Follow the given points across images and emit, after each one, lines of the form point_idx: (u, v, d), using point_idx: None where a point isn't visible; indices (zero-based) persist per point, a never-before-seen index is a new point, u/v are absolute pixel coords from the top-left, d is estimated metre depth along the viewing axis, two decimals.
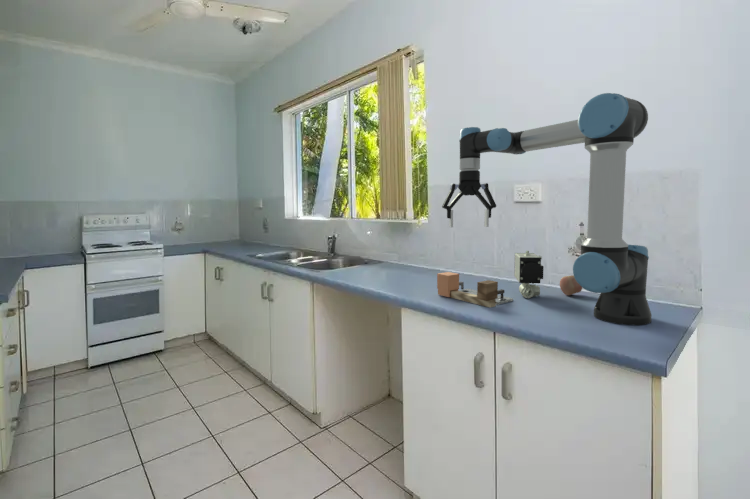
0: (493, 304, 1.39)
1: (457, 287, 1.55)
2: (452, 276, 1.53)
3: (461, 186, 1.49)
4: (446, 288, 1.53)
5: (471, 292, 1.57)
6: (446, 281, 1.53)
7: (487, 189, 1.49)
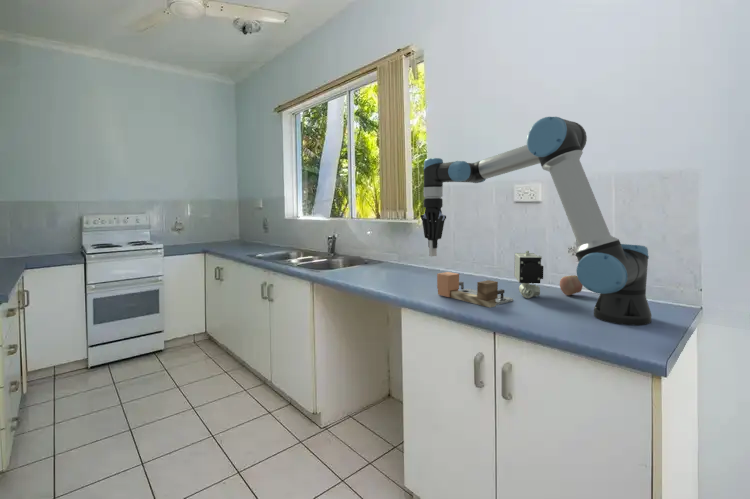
0: (493, 304, 1.39)
1: (457, 287, 1.55)
2: (452, 276, 1.53)
3: (425, 212, 1.62)
4: (446, 288, 1.53)
5: (471, 292, 1.57)
6: (446, 281, 1.53)
7: (439, 221, 1.56)
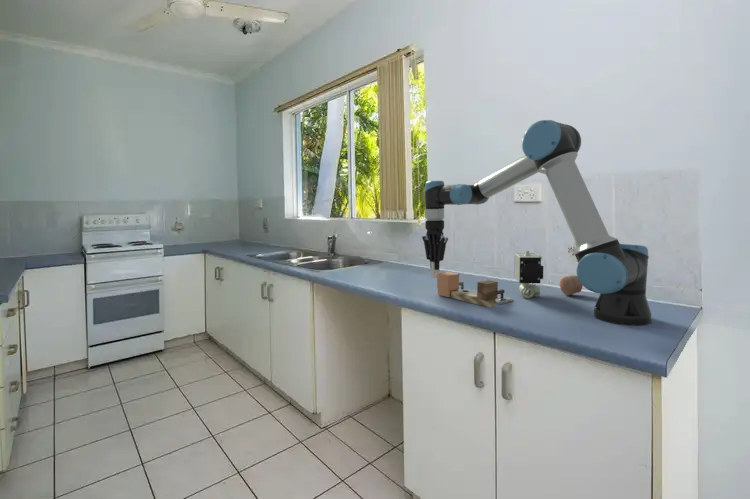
0: (493, 304, 1.39)
1: (457, 287, 1.55)
2: (452, 276, 1.53)
3: (427, 234, 1.63)
4: (446, 288, 1.53)
5: (471, 292, 1.57)
6: (446, 281, 1.53)
7: (440, 243, 1.56)
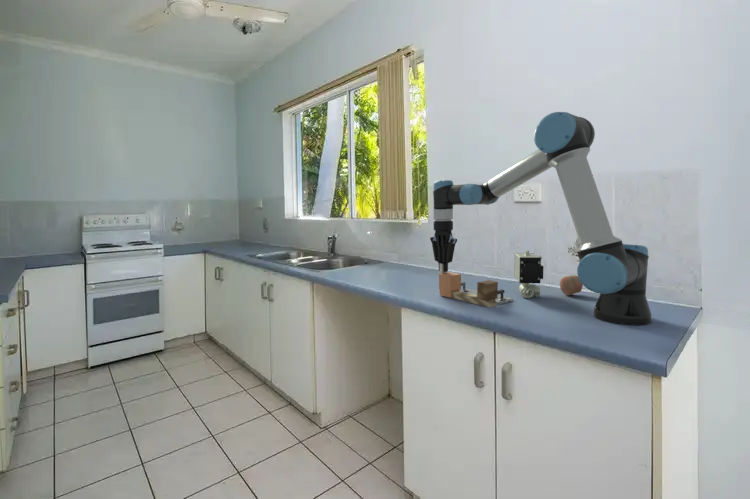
0: (493, 304, 1.39)
1: (459, 287, 1.55)
2: (454, 276, 1.53)
3: (435, 235, 1.59)
4: (448, 288, 1.52)
5: (471, 292, 1.57)
6: (448, 281, 1.52)
7: (449, 244, 1.52)
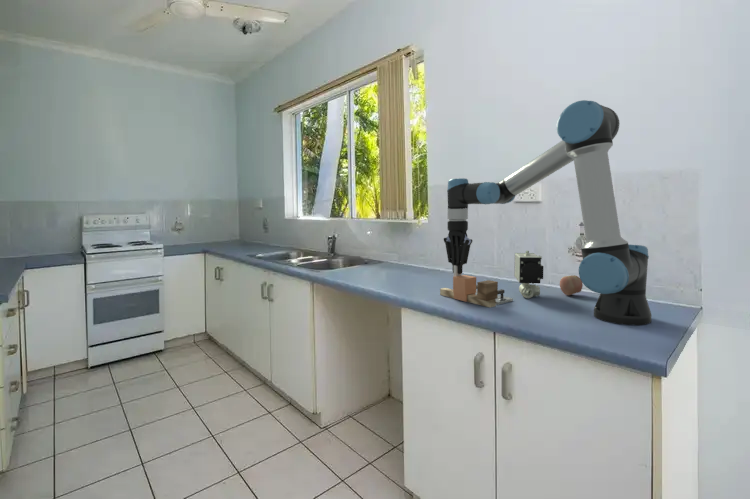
0: (493, 304, 1.39)
1: (474, 291, 1.48)
2: (469, 279, 1.46)
3: (449, 235, 1.52)
4: (463, 292, 1.46)
5: None
6: (463, 285, 1.46)
7: (464, 245, 1.46)
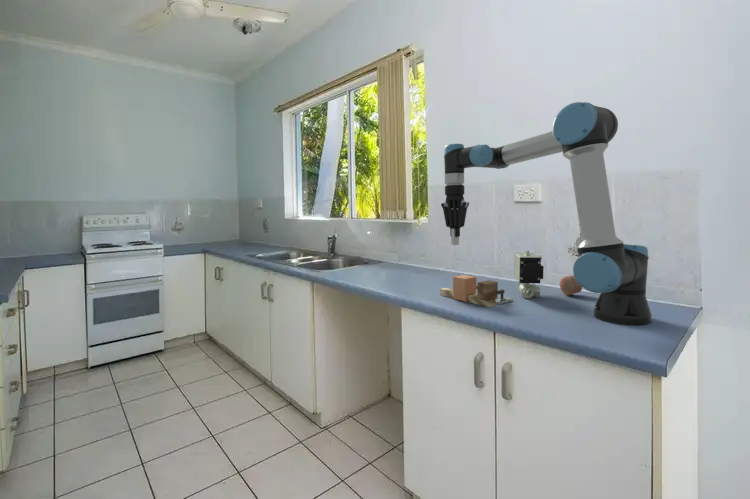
0: (493, 304, 1.39)
1: (474, 291, 1.48)
2: (469, 279, 1.46)
3: (446, 200, 1.58)
4: (463, 292, 1.46)
5: None
6: (463, 285, 1.46)
7: (461, 208, 1.52)
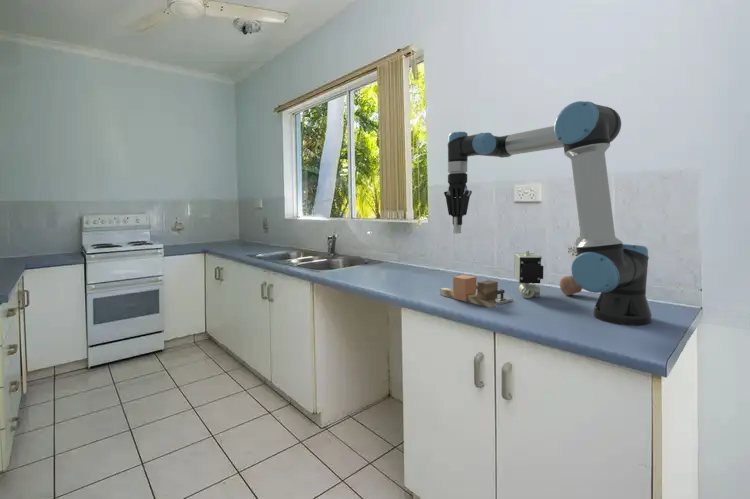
0: (493, 304, 1.39)
1: (474, 291, 1.48)
2: (469, 279, 1.46)
3: (449, 189, 1.58)
4: (463, 292, 1.46)
5: None
6: (463, 285, 1.46)
7: (464, 196, 1.52)
